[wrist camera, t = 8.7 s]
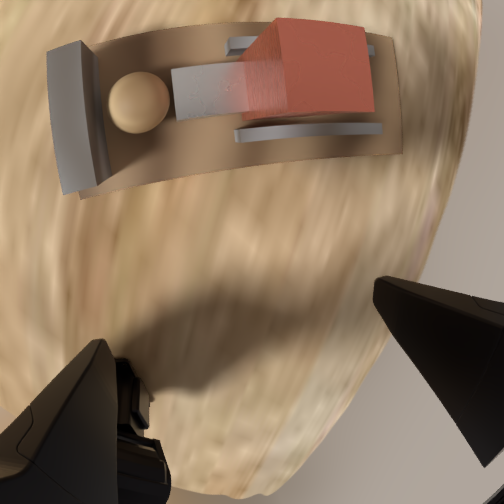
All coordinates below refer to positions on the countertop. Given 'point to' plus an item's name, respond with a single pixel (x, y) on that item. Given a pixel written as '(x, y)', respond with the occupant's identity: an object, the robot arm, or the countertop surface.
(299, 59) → the block
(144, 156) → the nutcracker base
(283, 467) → the countertop surface
